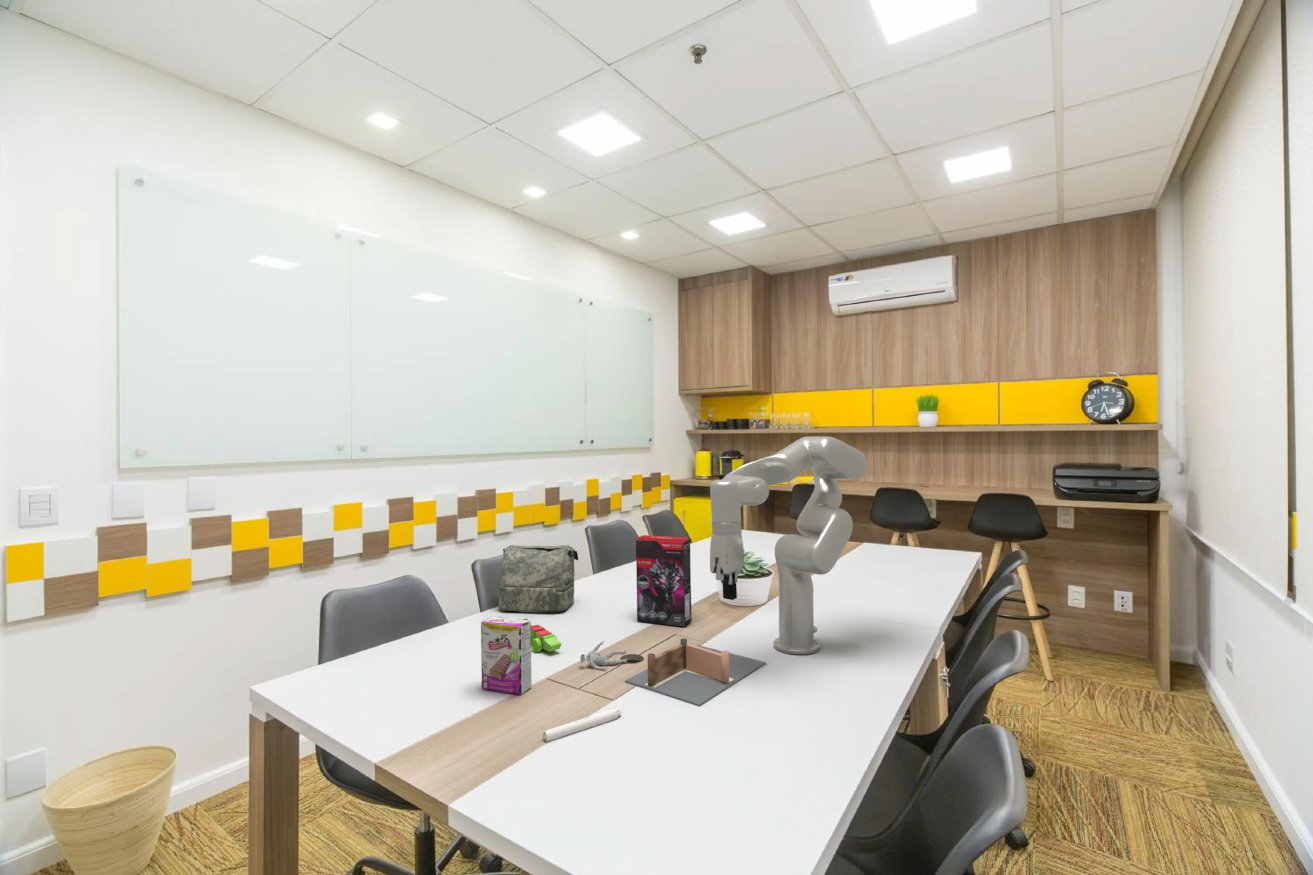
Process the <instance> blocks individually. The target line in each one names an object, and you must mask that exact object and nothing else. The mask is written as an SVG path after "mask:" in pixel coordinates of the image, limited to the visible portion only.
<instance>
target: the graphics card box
mask: <svg viewBox="0 0 1313 875" xmlns="http://www.w3.org/2000/svg"><path fill="white" fill-rule="evenodd" d="M635 554H636V555H635V557H636V558H635V561H636V564H635V565H636V566H635V569H636V618H637V620H636V621H637V622H641V623H650V624H660V625H668V626H676V627H686V626H688V625H689V624H690V623H691V622H692V619H693V618H692V584H691V582H692V580H691V578H692V577H691V574H692V573H691V568H692V567H691V538H690V537H682V536H681V537H679V536H663V535H648V534H647V535H645V534H644V535H642V534H641V535H640V536H638V537H637V538H636V539H635Z"/></svg>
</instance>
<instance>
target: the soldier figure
mask: <svg viewBox="0 0 1313 875" xmlns="http://www.w3.org/2000/svg"><path fill="white" fill-rule="evenodd" d="M605 642H606V641H601V642H599V643H598V644H597V645H596V646H595V647H594V648H592V649H591V650H590V651H588V653H587V654H585V653H584V654H583V653H582V654H580V656H579V657H580V658H579V659H580V664H583V663H584V662H585V660H587V662H588V665H589V666H591V667H592V668H594V669H595V670H597V671H599V670H600V671H601V670H602V671H607V670H608V668H607V666H609V665H618V664H620V663H624V664H625V663H627V662H628V659H627V658H625V659H616V658H612V657H613V656H617V655H625V654H627V650H626V649H625V650H622V651H621V650H615V649H614V650H611V651H609V652H607V653H606V654H601V653H600V652H597V651H598V650H599V649H600V647H601V646H603V645H604V643H605ZM600 665H601V666H600Z"/></svg>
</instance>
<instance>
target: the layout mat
mask: <svg viewBox="0 0 1313 875" xmlns="http://www.w3.org/2000/svg"><path fill="white" fill-rule="evenodd" d="M695 646H698V647H701V648H705V649H708V650H711V651H714V652H717V653H720V654H721V652H722V651H723V650H719V649H715V648H712V647H707V646H704V645H703V646H702V645H700V644H695ZM765 665H767V662H766V661H763V660H759V659H756V658H751V657H747V656H743V655H739V654H735V653H731V652H729V682H722V681H721V680H718V679H715V678H712V677H709V676H706V675H704V674H701V673H698V672H695V671H692V670H689V669H687V668H686V669H683V670H681V671H679V672H677V673H675V674H673V675H671V676H669V677H668V678H666V679H664V680H662V681H660V682H658V683H656V684H655V686H648V668H646V669H645V670H643V671H641V672H638V673H637V674H634V675H633V676H631V677H629V678H627V679H624V683H627V684H629V685H633V686H636V687H639V688H642V689H646V690H648V691H651V692H655V693H658V694H661V695H663V696H667V697H670V698H673V699H675V700H678V701H681V702H684V703H687V704H690V705H694V706H697V707H701V706H703V705H704V704H706V703H707V702H708V701H710V700H712V699H713V698H715V697H717V696H719V694H721V693H723V692H724V691H726V690H727V689H729V688H730V687H732V686H734V685H735V684H736V683H739V682H740V681H742V680H743V679H745V678H746V677H747V676H750V675H751V674H752V673H754V672H756V671H757V670H758V669H760V668H762V667H764V666H765Z"/></svg>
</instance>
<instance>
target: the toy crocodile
mask: <svg viewBox="0 0 1313 875" xmlns="http://www.w3.org/2000/svg"><path fill="white" fill-rule="evenodd" d="M522 620H527V621H529V620H528V618H526V617H525V618H522ZM561 647H562V643H561V641H560V640H558V637H557V636H556V634H554V633H552V632H551V631H549V630H547V629H546V628H545V627H544V626H542V625H539V624H535V625H534V624H531V651H533V653H535V652H537V653H540V652H541V651H542V649H543V650H544V651H547V652H553V651H556V650H560V648H561Z"/></svg>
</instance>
